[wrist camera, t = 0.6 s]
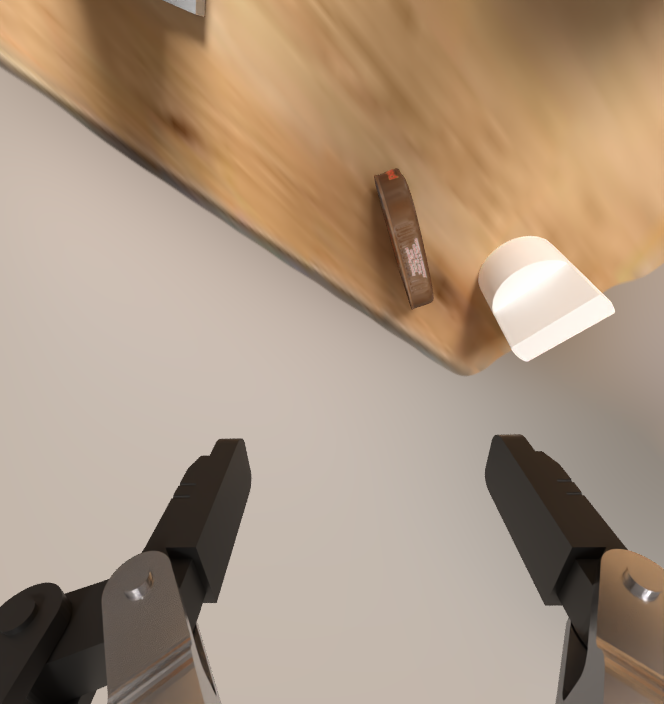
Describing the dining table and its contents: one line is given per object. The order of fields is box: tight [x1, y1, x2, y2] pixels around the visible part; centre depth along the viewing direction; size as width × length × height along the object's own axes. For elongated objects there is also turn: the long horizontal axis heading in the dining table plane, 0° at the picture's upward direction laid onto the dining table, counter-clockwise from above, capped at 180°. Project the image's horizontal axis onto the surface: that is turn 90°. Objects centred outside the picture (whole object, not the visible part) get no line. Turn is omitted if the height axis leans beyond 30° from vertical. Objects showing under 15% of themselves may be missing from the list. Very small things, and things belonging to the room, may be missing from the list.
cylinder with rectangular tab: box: [478, 236, 615, 362], centre depth 36 cm, size 9×9×12 cm
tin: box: [374, 168, 433, 310], centre depth 35 cm, size 15×3×8 cm, turn 21°
